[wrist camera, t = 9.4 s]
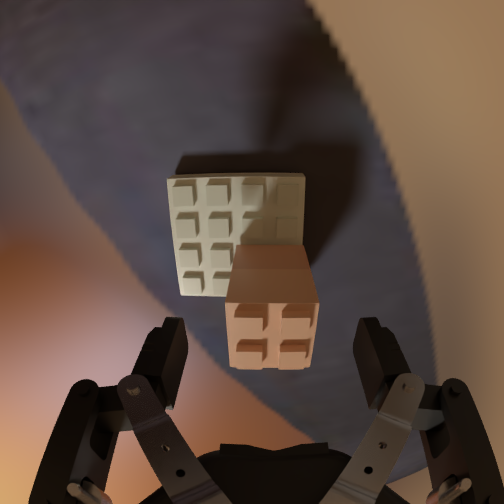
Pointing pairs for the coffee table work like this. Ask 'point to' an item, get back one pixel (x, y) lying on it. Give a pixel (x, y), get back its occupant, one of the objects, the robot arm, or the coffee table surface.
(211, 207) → the stud plate
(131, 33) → the coffee table surface
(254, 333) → the brick stack
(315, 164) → the coffee table surface
